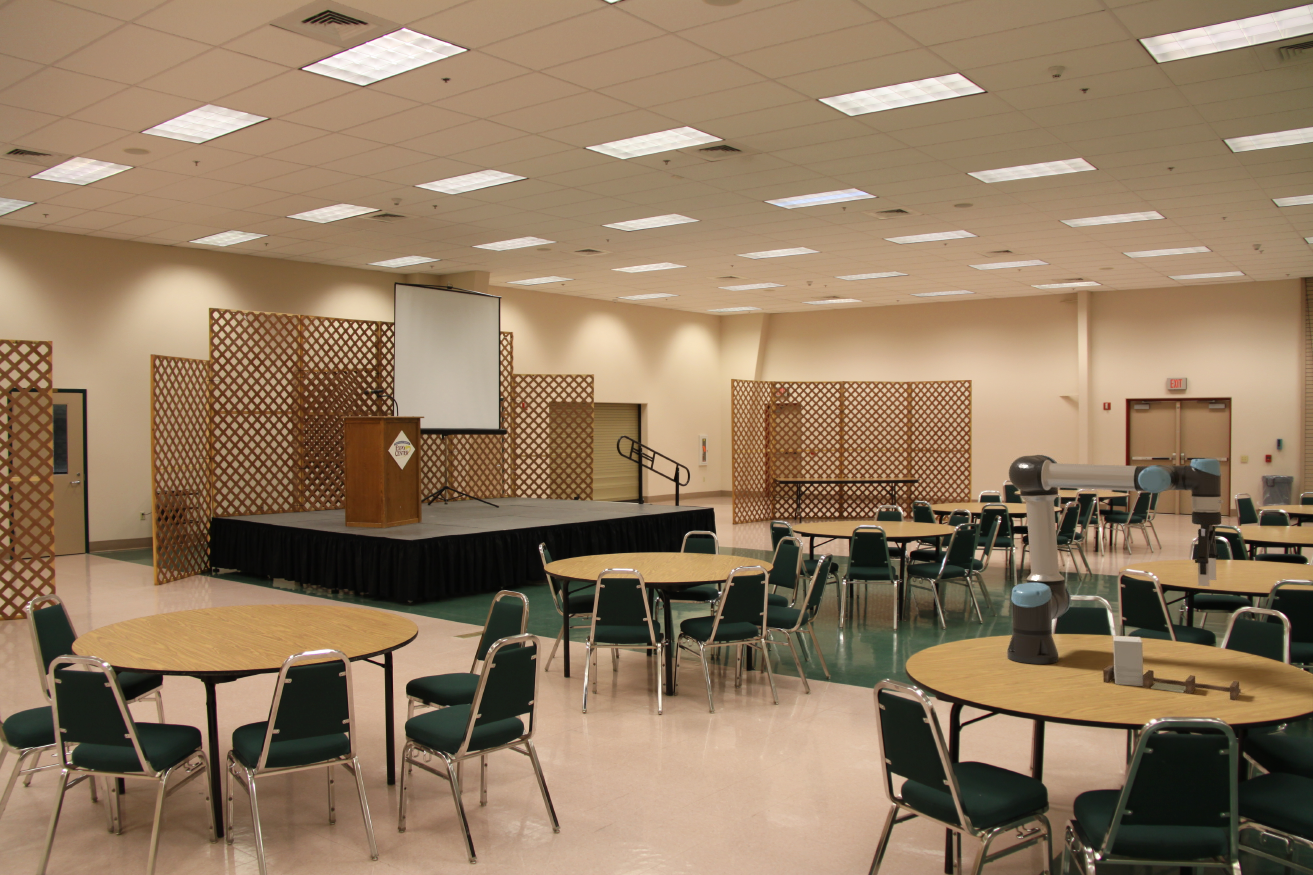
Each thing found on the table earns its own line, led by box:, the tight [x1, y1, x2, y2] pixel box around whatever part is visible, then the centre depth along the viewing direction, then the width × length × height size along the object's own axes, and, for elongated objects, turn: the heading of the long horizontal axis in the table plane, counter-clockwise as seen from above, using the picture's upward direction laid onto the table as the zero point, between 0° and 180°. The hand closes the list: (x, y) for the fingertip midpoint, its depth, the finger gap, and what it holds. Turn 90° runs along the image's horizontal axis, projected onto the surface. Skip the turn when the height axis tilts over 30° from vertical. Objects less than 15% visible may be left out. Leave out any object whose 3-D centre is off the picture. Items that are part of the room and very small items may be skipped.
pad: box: [1150, 682, 1186, 694], centre depth 259 cm, size 8×6×1 cm
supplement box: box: [1112, 635, 1144, 687], centre depth 266 cm, size 7×7×13 cm
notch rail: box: [1102, 664, 1242, 701], centre depth 260 cm, size 32×10×4 cm, turn 51°
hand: (1207, 582), depth 275 cm, fingers open, 13 cm apart
